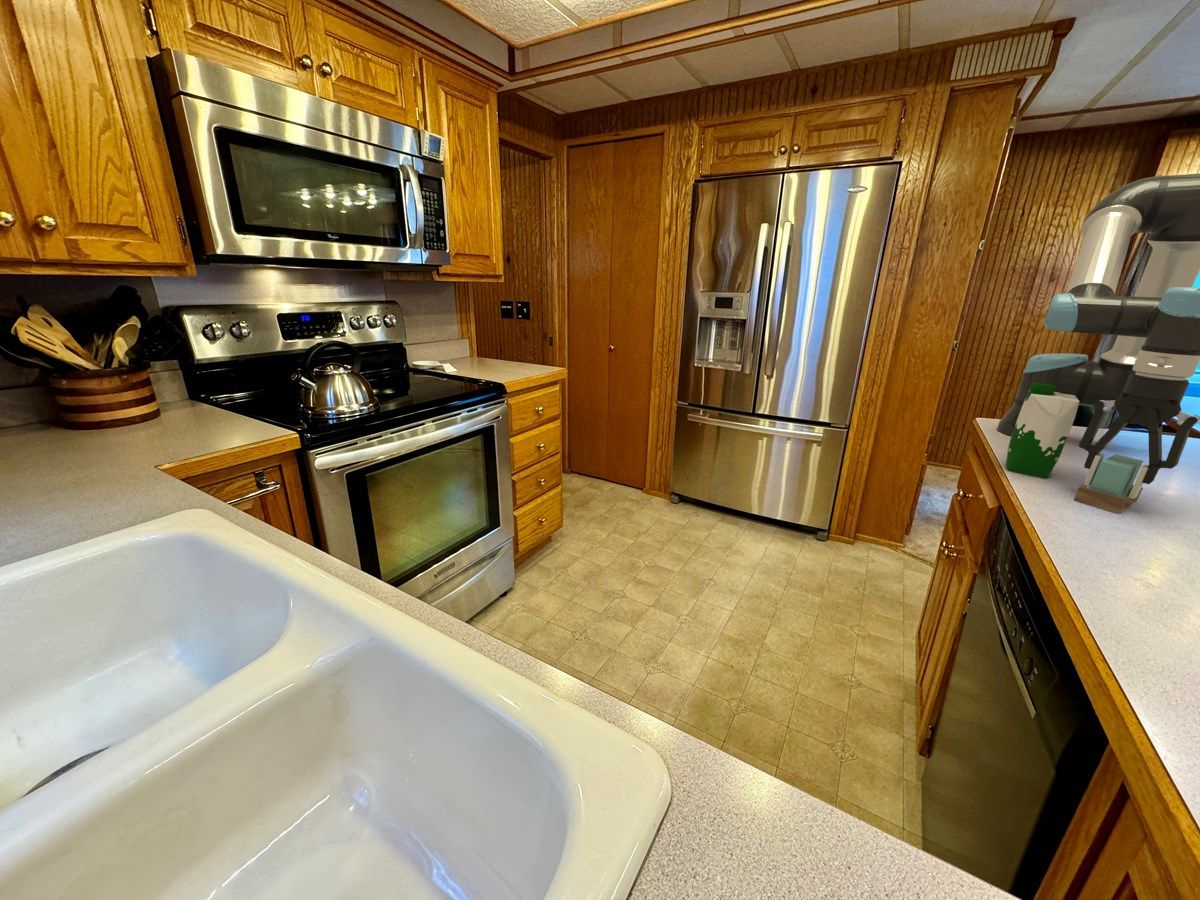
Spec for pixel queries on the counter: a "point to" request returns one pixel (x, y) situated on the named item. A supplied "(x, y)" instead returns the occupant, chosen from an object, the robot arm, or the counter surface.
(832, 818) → the counter surface
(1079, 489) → the holder
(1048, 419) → the milk carton
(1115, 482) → the key block
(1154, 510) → the counter surface
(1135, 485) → the robot arm
